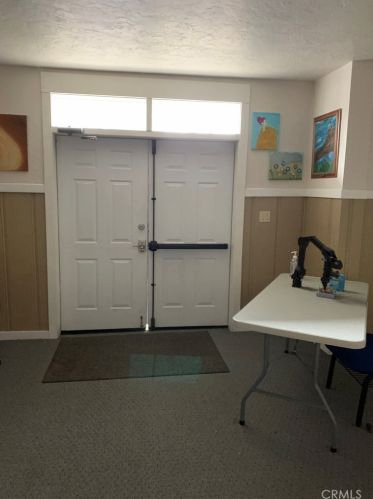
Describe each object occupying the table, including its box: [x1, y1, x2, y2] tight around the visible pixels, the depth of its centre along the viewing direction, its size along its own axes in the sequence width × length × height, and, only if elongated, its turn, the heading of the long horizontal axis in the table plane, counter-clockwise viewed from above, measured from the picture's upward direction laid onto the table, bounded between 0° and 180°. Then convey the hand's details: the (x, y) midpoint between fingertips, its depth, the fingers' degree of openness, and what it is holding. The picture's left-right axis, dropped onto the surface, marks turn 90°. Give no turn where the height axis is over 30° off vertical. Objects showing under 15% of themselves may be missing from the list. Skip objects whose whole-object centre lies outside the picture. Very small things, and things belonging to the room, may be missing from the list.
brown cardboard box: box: [318, 285, 334, 294], centre depth 284 cm, size 9×5×4 cm, turn 63°
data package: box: [329, 273, 346, 292], centre depth 301 cm, size 12×4×12 cm, turn 64°
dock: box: [315, 289, 337, 300], centre depth 284 cm, size 12×10×4 cm
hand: (325, 288), depth 284 cm, fingers open, 9 cm apart
